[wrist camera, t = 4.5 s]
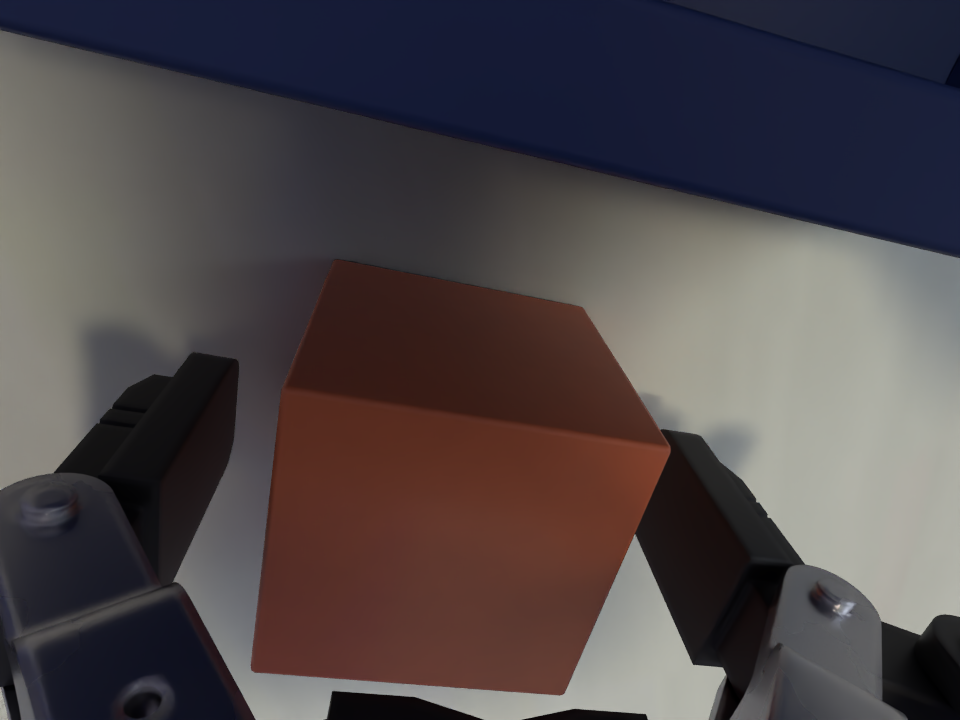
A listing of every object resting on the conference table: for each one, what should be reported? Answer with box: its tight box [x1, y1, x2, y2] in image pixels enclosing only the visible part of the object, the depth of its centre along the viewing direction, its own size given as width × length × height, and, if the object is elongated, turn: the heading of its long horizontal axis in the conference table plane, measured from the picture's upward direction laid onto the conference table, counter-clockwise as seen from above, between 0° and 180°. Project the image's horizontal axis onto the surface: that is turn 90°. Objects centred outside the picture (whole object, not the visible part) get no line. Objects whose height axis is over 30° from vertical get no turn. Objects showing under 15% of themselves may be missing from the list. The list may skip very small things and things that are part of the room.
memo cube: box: [251, 259, 671, 695], centre depth 11 cm, size 5×5×5 cm
